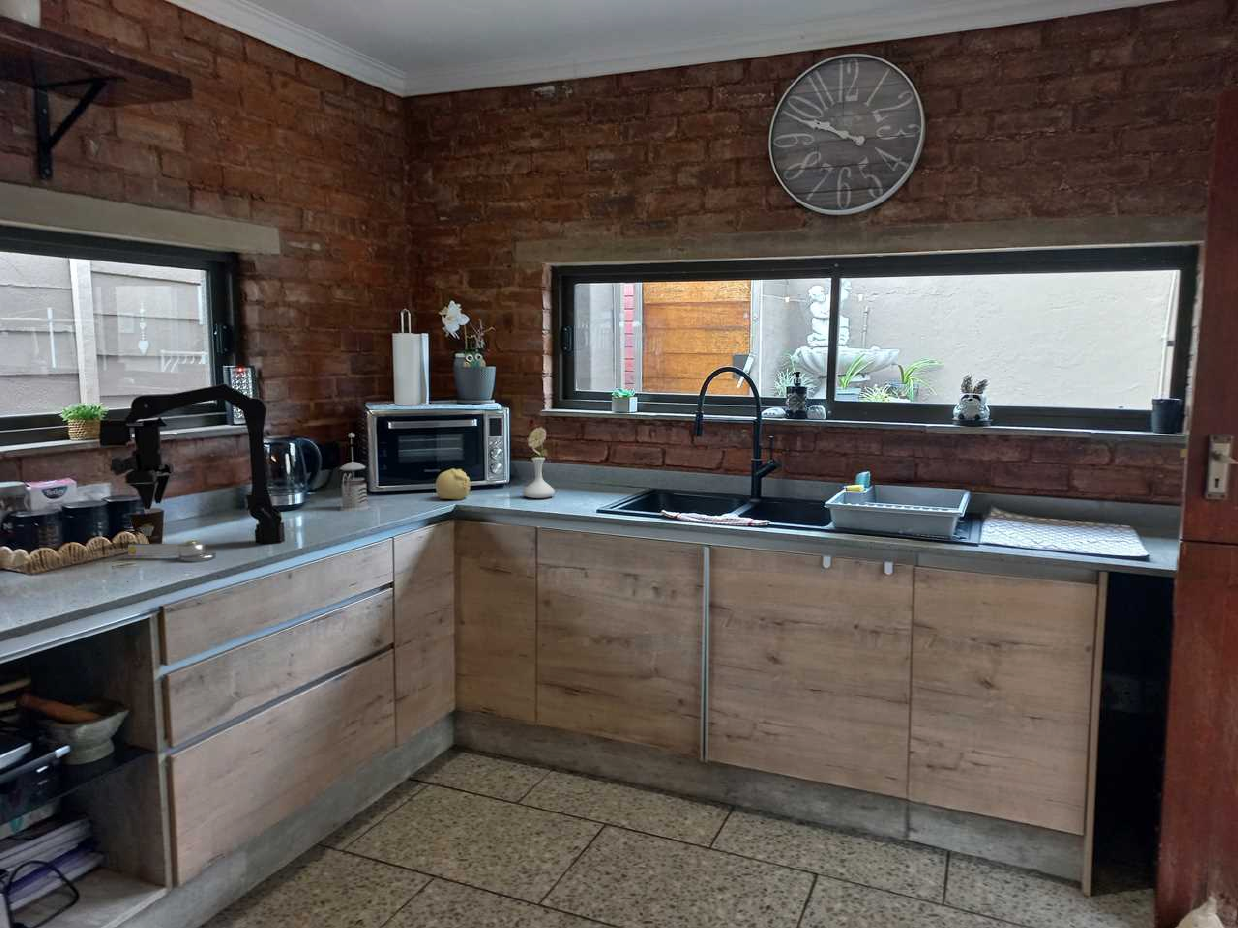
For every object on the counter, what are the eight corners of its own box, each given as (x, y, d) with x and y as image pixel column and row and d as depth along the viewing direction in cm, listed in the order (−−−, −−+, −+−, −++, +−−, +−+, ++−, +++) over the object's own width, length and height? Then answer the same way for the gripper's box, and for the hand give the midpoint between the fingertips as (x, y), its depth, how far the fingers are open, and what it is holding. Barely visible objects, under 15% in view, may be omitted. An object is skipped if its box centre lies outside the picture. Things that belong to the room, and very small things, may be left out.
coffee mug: (172, 543, 236) (169, 507, 235) (157, 551, 227) (154, 513, 226) (129, 544, 236) (126, 508, 234) (112, 551, 227) (108, 514, 226)
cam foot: (221, 554, 219) (220, 538, 218) (205, 562, 211) (204, 545, 210) (139, 554, 219) (138, 538, 219) (120, 562, 211) (119, 545, 211)
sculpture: (472, 500, 299) (471, 469, 298) (436, 502, 297) (435, 471, 295) (470, 495, 310) (469, 465, 309) (436, 496, 308) (434, 466, 306)
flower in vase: (518, 496, 308) (516, 426, 305) (548, 493, 313) (547, 424, 309) (530, 501, 296) (529, 429, 293) (561, 499, 301) (560, 427, 298)
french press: (374, 505, 291) (371, 431, 288) (361, 512, 280) (357, 435, 276) (346, 505, 292) (343, 431, 289) (332, 511, 280) (328, 435, 277)
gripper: (125, 442, 225) (130, 501, 227) (99, 450, 207) (104, 514, 209) (172, 441, 228) (176, 499, 230) (149, 449, 210) (154, 512, 212)
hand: (153, 506), depth 220 cm, fingers open, 8 cm apart
